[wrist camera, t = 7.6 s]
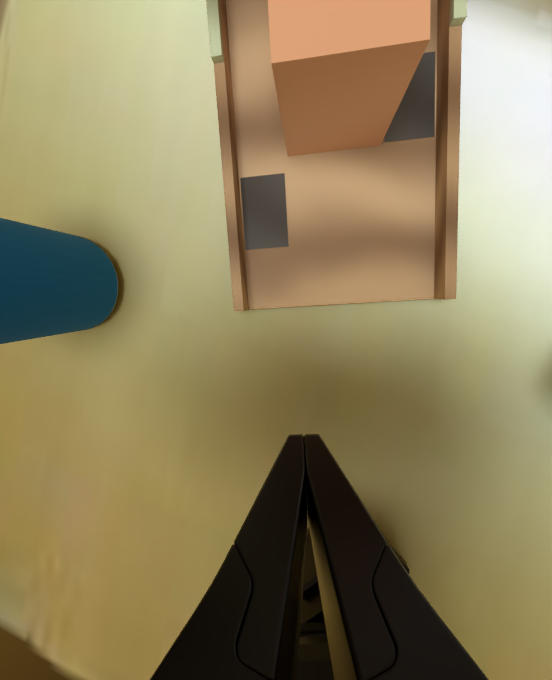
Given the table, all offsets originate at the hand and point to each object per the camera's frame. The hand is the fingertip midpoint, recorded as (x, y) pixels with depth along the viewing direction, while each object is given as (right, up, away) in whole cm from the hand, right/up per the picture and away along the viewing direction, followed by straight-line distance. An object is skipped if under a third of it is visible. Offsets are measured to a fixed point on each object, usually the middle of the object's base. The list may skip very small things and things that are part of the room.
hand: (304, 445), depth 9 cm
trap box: (+3, +15, +11) cm, 19 cm away
